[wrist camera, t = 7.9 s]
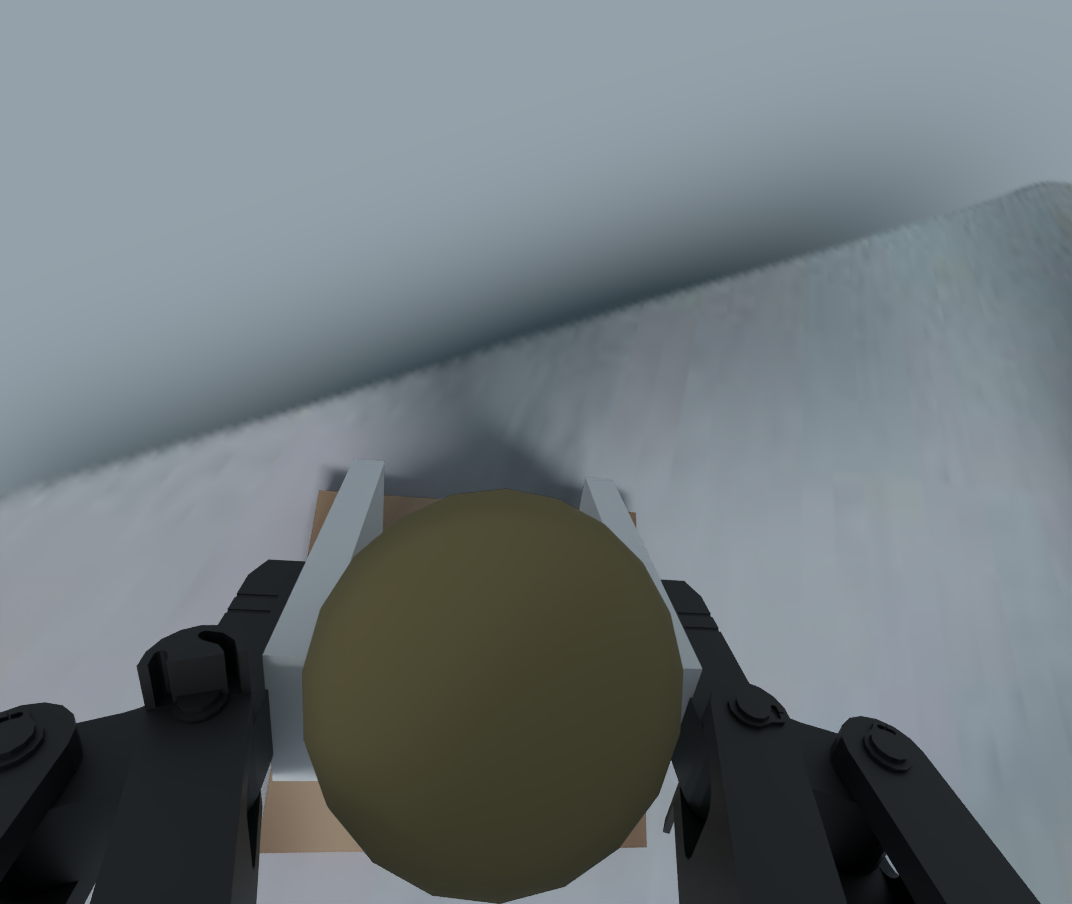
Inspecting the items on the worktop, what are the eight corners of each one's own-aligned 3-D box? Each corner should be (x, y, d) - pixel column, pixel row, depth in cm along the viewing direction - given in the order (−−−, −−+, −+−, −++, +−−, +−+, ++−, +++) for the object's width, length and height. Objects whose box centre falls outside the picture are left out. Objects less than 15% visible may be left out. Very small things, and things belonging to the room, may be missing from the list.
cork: (409, 535, 18) (370, 365, 7) (588, 598, 18) (790, 518, 8) (323, 740, 15) (97, 904, 5) (530, 809, 16) (709, 1101, 5)
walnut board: (627, 518, 27) (635, 512, 26) (636, 837, 22) (646, 847, 21) (324, 497, 25) (319, 490, 24) (266, 842, 20) (256, 853, 19)
